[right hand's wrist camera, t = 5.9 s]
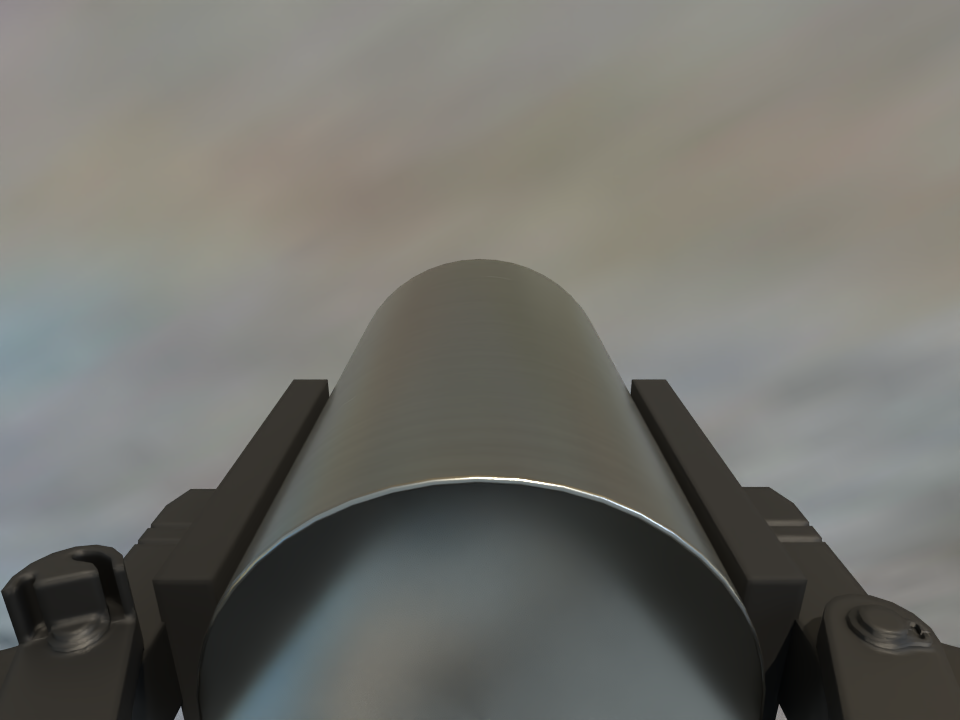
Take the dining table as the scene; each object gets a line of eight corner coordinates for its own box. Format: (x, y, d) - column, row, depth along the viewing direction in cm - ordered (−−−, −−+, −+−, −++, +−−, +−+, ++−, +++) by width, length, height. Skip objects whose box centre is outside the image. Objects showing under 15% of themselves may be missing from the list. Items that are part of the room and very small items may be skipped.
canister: (646, 314, 17) (885, 597, 7) (543, 515, 19) (611, 943, 9) (404, 218, 16) (281, 384, 6) (326, 441, 18) (143, 827, 8)
